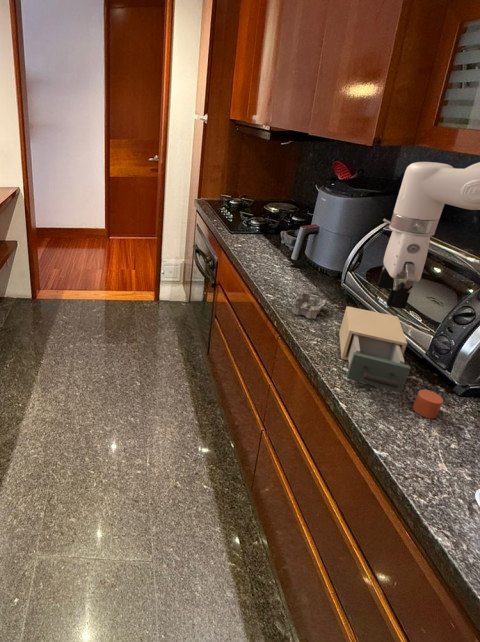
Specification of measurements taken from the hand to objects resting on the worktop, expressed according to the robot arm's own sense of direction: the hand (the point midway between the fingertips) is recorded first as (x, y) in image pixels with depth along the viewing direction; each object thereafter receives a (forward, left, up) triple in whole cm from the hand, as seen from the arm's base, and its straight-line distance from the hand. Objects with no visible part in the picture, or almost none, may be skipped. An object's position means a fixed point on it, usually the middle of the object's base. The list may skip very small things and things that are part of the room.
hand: (390, 297), depth 86 cm
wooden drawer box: (-2, -8, -20) cm, 21 cm away
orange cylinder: (-7, +12, -20) cm, 24 cm away
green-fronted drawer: (0, +4, -19) cm, 19 cm away
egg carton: (+9, -26, -20) cm, 34 cm away
